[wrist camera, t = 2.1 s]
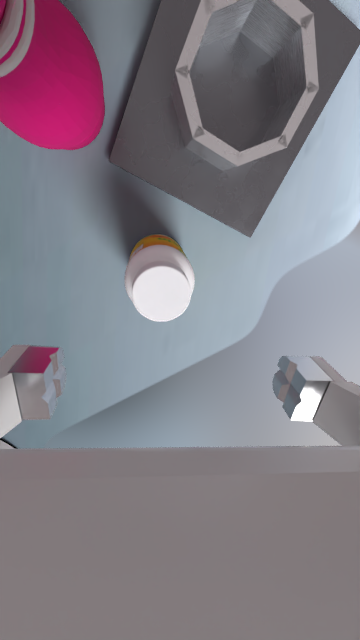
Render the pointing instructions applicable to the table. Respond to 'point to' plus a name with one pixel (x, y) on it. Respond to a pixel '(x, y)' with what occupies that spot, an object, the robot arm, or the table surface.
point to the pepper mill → (48, 76)
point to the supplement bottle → (159, 278)
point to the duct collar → (231, 99)
